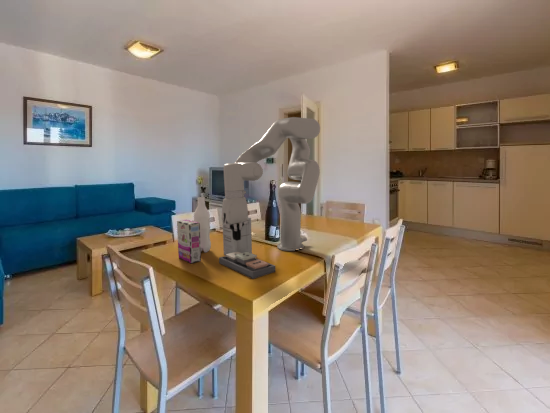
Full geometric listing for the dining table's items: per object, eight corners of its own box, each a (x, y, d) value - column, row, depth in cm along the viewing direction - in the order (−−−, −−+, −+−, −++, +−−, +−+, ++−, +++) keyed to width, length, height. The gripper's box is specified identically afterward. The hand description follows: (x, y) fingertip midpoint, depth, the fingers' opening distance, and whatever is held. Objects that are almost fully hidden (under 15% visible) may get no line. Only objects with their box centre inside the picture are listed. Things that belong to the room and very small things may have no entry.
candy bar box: (201, 261, 126) (200, 222, 124) (191, 264, 123) (189, 224, 120) (188, 255, 134) (186, 219, 132) (178, 257, 130) (176, 220, 128)
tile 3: (258, 265, 117) (258, 258, 117) (268, 269, 113) (268, 262, 112) (245, 269, 113) (245, 262, 113) (255, 273, 109) (255, 266, 108)
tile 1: (237, 257, 127) (237, 251, 127) (246, 260, 123) (246, 254, 123) (225, 260, 124) (225, 253, 123) (233, 264, 119) (233, 257, 119)
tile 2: (247, 258, 122) (247, 251, 122) (256, 261, 118) (256, 254, 117) (235, 261, 118) (235, 254, 118) (244, 265, 114) (244, 257, 113)
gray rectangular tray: (240, 257, 130) (240, 252, 130) (275, 271, 113) (275, 265, 113) (219, 263, 123) (219, 257, 123) (252, 279, 106) (252, 272, 106)
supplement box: (240, 250, 141) (239, 214, 139) (252, 254, 135) (252, 217, 132) (222, 254, 135) (221, 217, 132) (235, 259, 128) (234, 220, 126)
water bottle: (207, 253, 136) (205, 198, 132) (192, 253, 137) (189, 198, 134) (213, 249, 143) (211, 196, 139) (199, 248, 144) (197, 196, 140)
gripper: (244, 192, 127) (246, 234, 130) (213, 196, 117) (216, 241, 120) (255, 193, 121) (257, 237, 125) (223, 197, 112) (226, 245, 115)
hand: (236, 239), depth 122 cm, fingers closed
